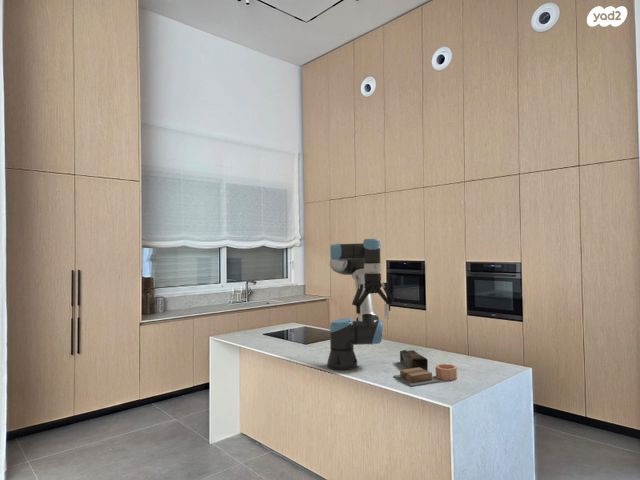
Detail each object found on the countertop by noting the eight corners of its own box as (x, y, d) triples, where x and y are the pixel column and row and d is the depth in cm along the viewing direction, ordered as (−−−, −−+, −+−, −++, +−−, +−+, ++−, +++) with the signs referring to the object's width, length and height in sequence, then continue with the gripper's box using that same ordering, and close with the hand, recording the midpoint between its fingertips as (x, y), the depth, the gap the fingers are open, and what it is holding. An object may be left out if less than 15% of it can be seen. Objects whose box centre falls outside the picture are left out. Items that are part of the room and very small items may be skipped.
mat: (393, 376, 193) (393, 375, 193) (420, 373, 198) (420, 371, 198) (411, 386, 179) (411, 385, 179) (439, 382, 184) (439, 380, 184)
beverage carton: (414, 361, 219) (414, 348, 219) (428, 372, 200) (428, 358, 200) (399, 362, 218) (399, 349, 218) (412, 373, 199) (412, 359, 199)
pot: (432, 375, 193) (432, 365, 193) (448, 373, 196) (448, 363, 196) (444, 381, 185) (444, 370, 185) (461, 378, 188) (460, 367, 188)
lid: (400, 376, 191) (400, 369, 192) (419, 373, 195) (419, 367, 195) (412, 383, 182) (412, 375, 182) (432, 379, 185) (431, 373, 186)
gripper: (351, 274, 184) (352, 323, 184) (400, 271, 194) (402, 318, 193) (344, 273, 191) (345, 320, 191) (392, 271, 200) (393, 316, 200)
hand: (373, 319), depth 192 cm, fingers open, 13 cm apart
